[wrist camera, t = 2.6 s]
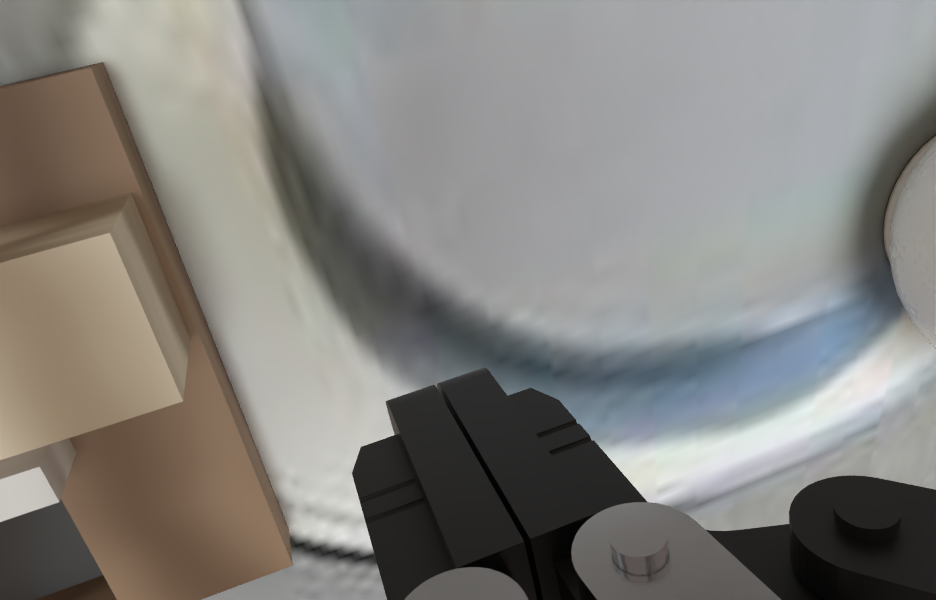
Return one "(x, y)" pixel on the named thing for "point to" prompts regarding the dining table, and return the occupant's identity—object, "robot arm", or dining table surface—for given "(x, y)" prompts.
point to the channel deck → (136, 439)
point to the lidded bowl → (915, 239)
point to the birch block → (84, 325)
